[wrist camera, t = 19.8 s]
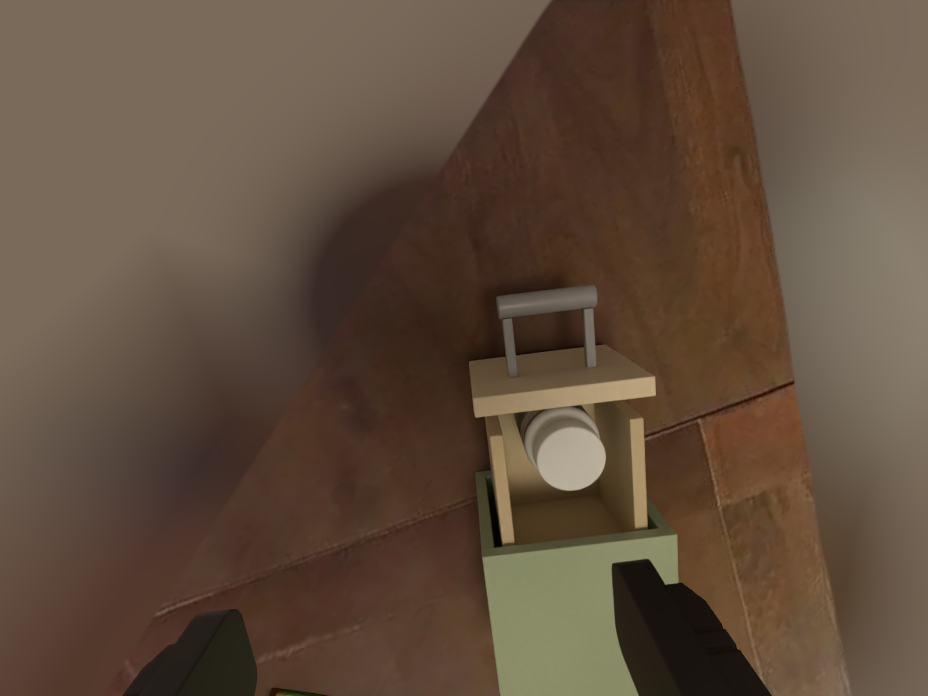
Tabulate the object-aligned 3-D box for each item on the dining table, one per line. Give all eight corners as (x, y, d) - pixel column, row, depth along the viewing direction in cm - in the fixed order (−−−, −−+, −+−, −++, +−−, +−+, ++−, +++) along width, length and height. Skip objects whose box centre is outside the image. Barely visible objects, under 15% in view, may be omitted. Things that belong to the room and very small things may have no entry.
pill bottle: (589, 405, 34) (630, 455, 26) (546, 450, 35) (574, 513, 27) (541, 366, 33) (569, 404, 25) (500, 413, 34) (513, 465, 26)
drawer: (460, 292, 33) (461, 307, 25) (601, 274, 33) (652, 283, 25) (487, 508, 37) (496, 587, 28) (614, 493, 37) (662, 568, 28)
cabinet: (475, 471, 37) (482, 557, 27) (616, 454, 37) (677, 534, 27) (493, 612, 40) (505, 738, 30) (624, 596, 40) (682, 718, 30)
